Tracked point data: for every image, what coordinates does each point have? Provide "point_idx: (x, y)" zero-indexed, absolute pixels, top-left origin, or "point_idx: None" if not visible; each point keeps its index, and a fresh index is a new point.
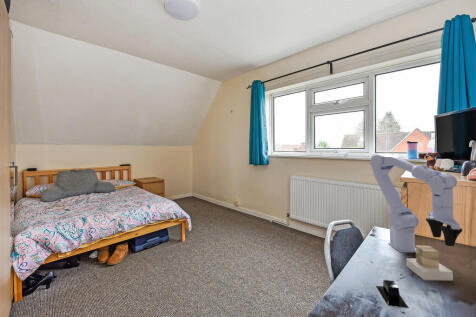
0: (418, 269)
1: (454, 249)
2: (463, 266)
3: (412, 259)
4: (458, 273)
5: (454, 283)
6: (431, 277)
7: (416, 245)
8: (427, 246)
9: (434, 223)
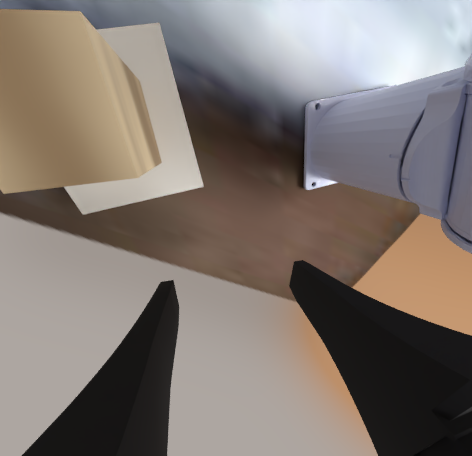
0: None
1: None
2: (223, 266)
3: (156, 66)
4: (171, 238)
5: None
6: None
7: (75, 17)
8: (109, 149)
9: (385, 368)
